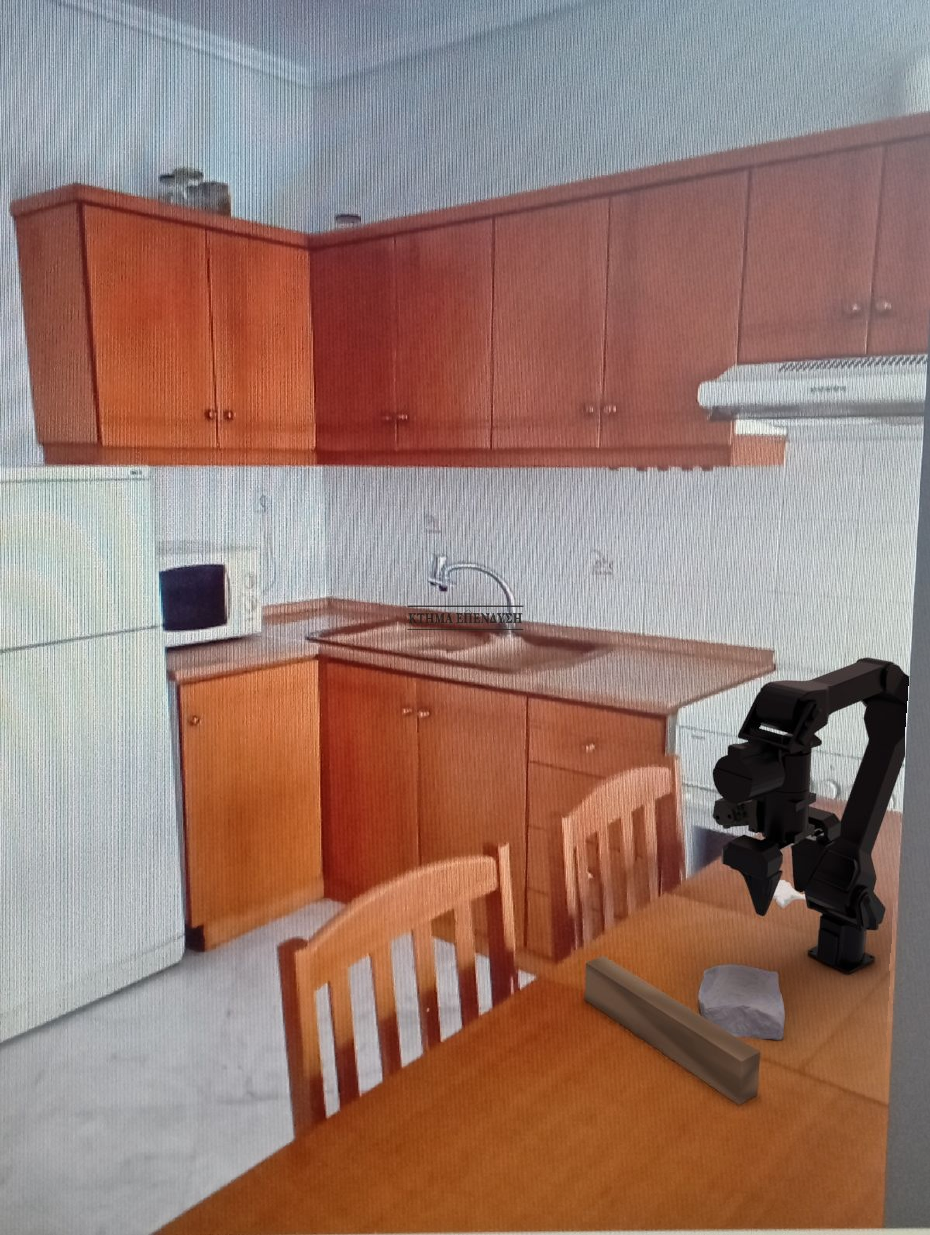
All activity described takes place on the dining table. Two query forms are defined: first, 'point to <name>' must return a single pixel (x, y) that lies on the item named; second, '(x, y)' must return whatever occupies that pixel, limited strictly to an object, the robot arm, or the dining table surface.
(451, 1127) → the dining table surface
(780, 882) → the acanthus leaf ornament
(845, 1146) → the dining table surface
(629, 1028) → the board
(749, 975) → the stone block
